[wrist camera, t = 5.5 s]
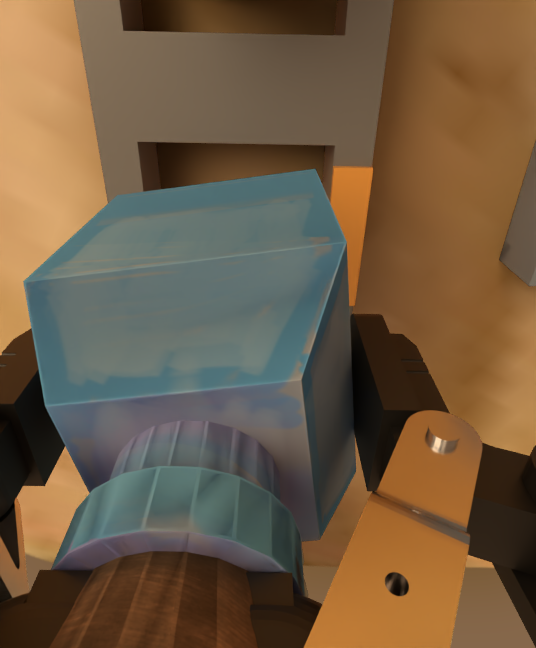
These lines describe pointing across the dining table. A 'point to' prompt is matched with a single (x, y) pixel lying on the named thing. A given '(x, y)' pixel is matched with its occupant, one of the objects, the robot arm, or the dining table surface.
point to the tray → (523, 230)
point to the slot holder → (239, 97)
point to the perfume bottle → (196, 401)
